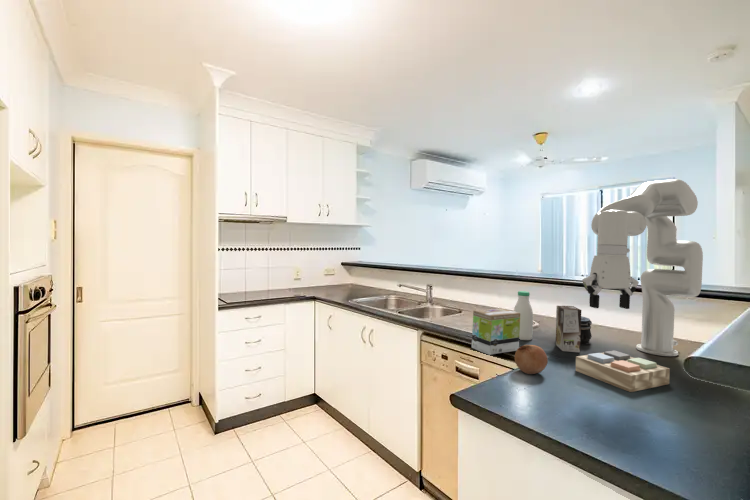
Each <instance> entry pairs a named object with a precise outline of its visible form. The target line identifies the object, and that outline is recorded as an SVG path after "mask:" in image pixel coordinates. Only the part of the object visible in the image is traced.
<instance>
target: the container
mask: <svg viewBox="0 0 750 500" xmlns="http://www.w3.org/2000/svg"><path fill="white" fill-rule="evenodd" d="M592 324H593V323H592V320H591V319H590V318H589V317H586V316H582V315H581V335H580V346H582V345H583V346H585V345H588V344H590V340H591V338H592V336H593V335H592V331H591V328H592V326H591V325H592Z"/></svg>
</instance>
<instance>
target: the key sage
mask: <svg viewBox="0 0 750 500" xmlns="http://www.w3.org/2000/svg"><path fill="white" fill-rule="evenodd" d="M628 362H630V363H633V364H636V365H639V366H640V368H643V369H651V368H656V365H657V362H655V361H651V360H648V359H645V358H641V357H633V359H628Z"/></svg>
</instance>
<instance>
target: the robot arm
mask: <svg viewBox="0 0 750 500" xmlns="http://www.w3.org/2000/svg"><path fill="white" fill-rule="evenodd" d="M698 203H699V201H698V198H697V195H696V193H695V192H694V191H693V190H692V188H691V186H690V185H689V184H688V183H687V182H686V181H684V180H682V179H677V178H676V179H675V178H674V179H673V178H672V179H664V180H654V181H647V182H643V183H642V184H640V185H638V186H637V188H635V190H633V191H632V193H630V195H629V196H628V197H624V198H622V199H620V200H617V201H614V202H611V203H608V204H606V205H604V206H603V207H601V208H600V209H599V210H597V212H596V213H595V214H594V216H592V217H593V218H592V220H591V224H590V226H591V230H592V232H593V233H594V234H595V235H596V236H597V248H596V249H597V250H596V255H594V256H593V258H592V262H591V266H590V272H589V273H590V275H589V276H586V277H584V278H583V279H582V280H581V281H582V284H583V286H584V289H585V290H586V291H587V294H589V301H588V302H589V303H588V304H589V307H591V308H594V309H599V307H600V294H599V293H600V292H601V290H602V289H604V290H619V292H620V293H619V304H618V306H619V308H621V309H624V310H625V309H626V310H629V309H630V305H631V304H630V303H631V296H633V294H634V292H635V291H636V290H637V287H638V285H639V282H640V285H641V293H642V312H641V313H642V315H641V316H642V318H641V339H640V340H641V342H640V343H638V344H636V346H635V348H636V350H637V351H640V352H643V353H646V354H650V355H655V356H661V357H676V356H678V355H679V351H678V350H676V349H675V348H674V346H678V345H679V342H678V341H677V340H675V339H674V333H675V332H674V331H675V330H674V328H675V306H674V304H673V301H671V299H670V298H669V297H668V296H672V297H673V296H675V297H682V298H695V297H698V296H699V295H700V293H701V290H702V284H703V283H702V280H703V261H704V259H703V258H704V255H703V254H704V253H703V248H702V246H701V244H700V243H698V242H697V241H693V240H678V239H677V229H678V228H677V226H676V224H675V223H674V222H673V220H671V218H669V217H685V216H690V215H693V214H694V213H695V212H696V211H697V209H698ZM646 229H647V243H646V259H647V261H648V263H650V264H651V265H655V266H661V267H662V266H664V267H665V266H666V267H680V268H683V269H684V270H678V269H666V268H664V269H663V268H649V269H646V270H643V272H642V273H641V274H640V281H639V280H637V279H635V278H633V277H632V276H631V265H630V258H629V256H628V253H630V248H628V239H629V237H633V236H639V235H642V234H643V233H644V232H645V230H646Z"/></svg>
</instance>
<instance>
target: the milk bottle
mask: <svg viewBox="0 0 750 500" xmlns="http://www.w3.org/2000/svg"><path fill="white" fill-rule="evenodd" d="M530 295H531V294H530V292H529V291H525V290H521V291H520V290H519V291H518V292H517V297H518V298H517V302H516V303H515V305H514V307H513V311H514V312H518V313H520V331H519V339H520V340H519V341H531V340H532V339H533V332H534V331H533V328H534V323H533V321H534V311H533V308H532V307H533V306H532V304H531V303H530Z"/></svg>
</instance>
